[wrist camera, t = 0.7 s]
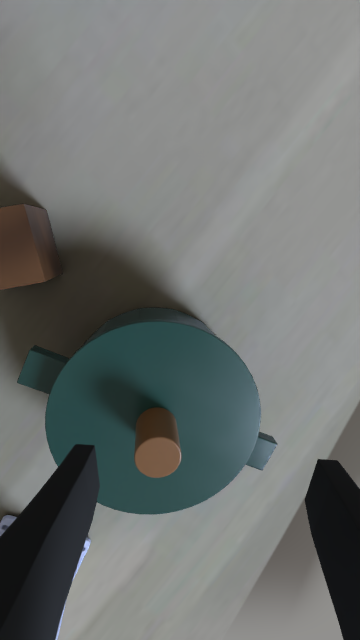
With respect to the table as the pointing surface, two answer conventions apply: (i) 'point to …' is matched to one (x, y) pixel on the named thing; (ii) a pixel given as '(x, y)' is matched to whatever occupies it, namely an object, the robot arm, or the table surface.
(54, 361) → the pot
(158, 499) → the lid
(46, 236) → the block
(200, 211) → the table surface
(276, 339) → the table surface
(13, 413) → the table surface
